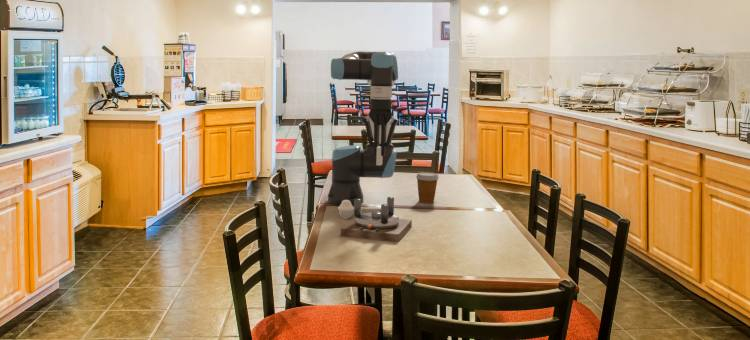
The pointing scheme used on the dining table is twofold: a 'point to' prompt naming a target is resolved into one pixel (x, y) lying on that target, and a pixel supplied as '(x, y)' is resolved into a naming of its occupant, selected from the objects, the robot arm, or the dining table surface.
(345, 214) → the muffin
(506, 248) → the dining table surface
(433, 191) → the disposable coffee cup
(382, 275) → the dining table surface
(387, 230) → the stand
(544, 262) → the dining table surface
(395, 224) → the capstan
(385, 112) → the robot arm
